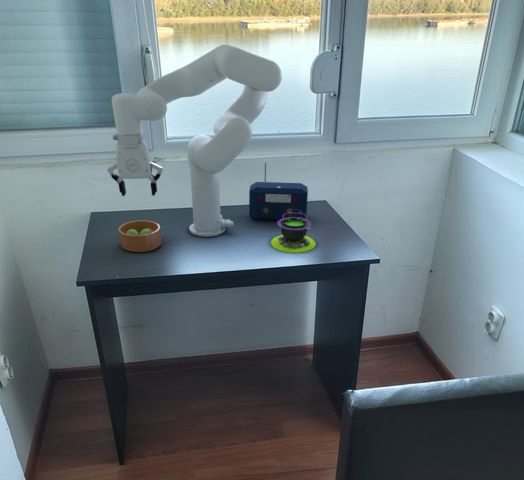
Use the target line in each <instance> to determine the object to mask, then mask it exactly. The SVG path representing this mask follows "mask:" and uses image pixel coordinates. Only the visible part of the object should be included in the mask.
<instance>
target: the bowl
mask: <svg viewBox="0 0 524 480" xmlns="http://www.w3.org/2000/svg"><path fill="white" fill-rule="evenodd" d="M130 229H134V230H136V231H137V232H138V233H139V235H128V234H125V233H126V232H127V231H128V230H130ZM143 229H150V230H151V231H152V233H150V234H145V235H140V232H141V231H142V230H143ZM161 231H162V229H161V225H160V224H159V223H157V222H156V221H152V220H143V219H142V220H141V219H139V220H132V221H127V222H125V223H123V224H121V225H119V227H118V235H119V242H120V247H121V248H122V249H123V250H126V251H128V252H130V253H131V252H132V253H146V252H147V253H148V252H151V251H153V250H154V251H155V249H158V248H159V247H160V246H161V245H162V243H163V240H162V239H163V238H162V232H161Z"/></svg>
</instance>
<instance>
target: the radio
mask: <svg viewBox="0 0 524 480" xmlns="http://www.w3.org/2000/svg"><path fill="white" fill-rule="evenodd" d="M248 191H249V193H248V196H249V197H248V203H249V204H248V208H249V209H248V210H249V211H248V217H249V218H250V219H252V220H253V221H259V222H263V221H264V222H279V221H280V220H281V222H283V220H284V219H283V218H285V219H286V218H287V217H288V218H289V217H290V218H292V217H294V218H296V217H299V218H301V219H305V218H306V216H307V212H308V211H307V210H308V196H309V189H308V186H307V185H305V184H303V183H301V182H279V181H277V182H276V181H267V162H264V181H255V182H254V183H252V184H250V186H249V190H248ZM293 209H294V210H293ZM295 209H296V210H295ZM289 210H290V212H292V213H290V212H289ZM296 212H297V213H296ZM301 212H302V213H301ZM286 213H287V214H286ZM299 213H300V214H299ZM284 214H285V215H284ZM304 214H305V215H304ZM283 215H284V216H283ZM289 215H290V216H289ZM282 219H283V220H282ZM306 219H307V218H306ZM306 219H305V220H306Z"/></svg>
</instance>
